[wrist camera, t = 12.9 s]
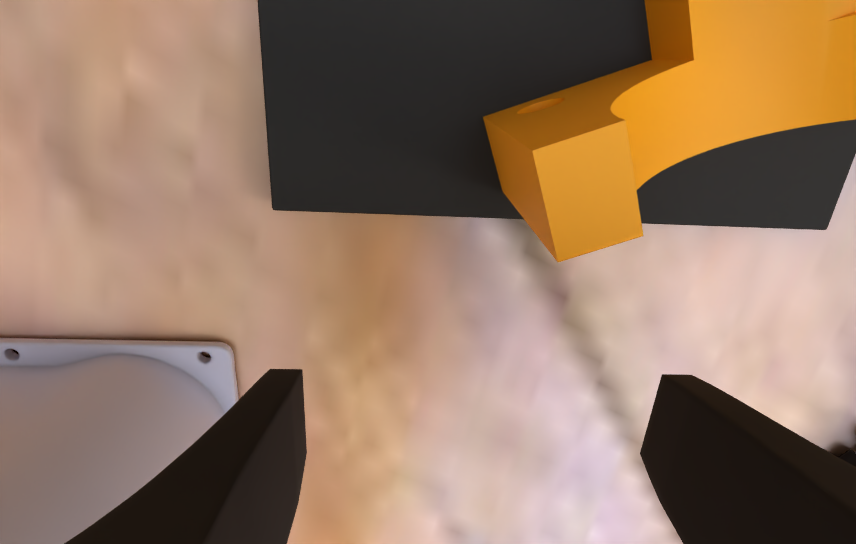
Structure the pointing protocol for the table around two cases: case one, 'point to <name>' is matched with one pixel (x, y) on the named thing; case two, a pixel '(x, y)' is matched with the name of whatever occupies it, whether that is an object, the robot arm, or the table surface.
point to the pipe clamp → (671, 111)
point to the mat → (486, 94)
